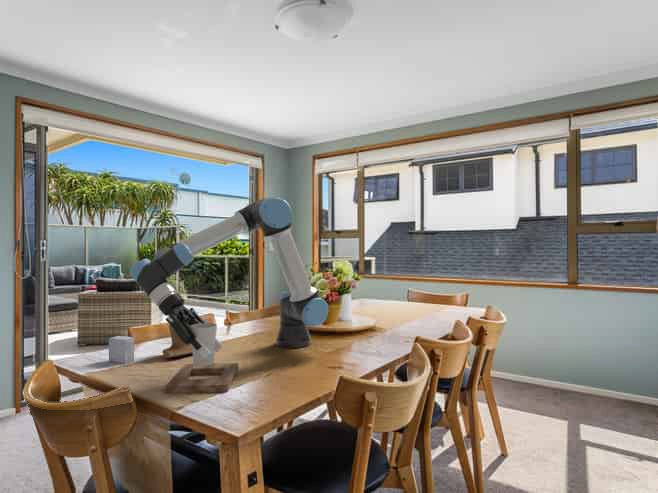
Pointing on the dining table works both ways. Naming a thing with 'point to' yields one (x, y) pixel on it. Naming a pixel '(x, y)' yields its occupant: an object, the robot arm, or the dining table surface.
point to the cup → (204, 342)
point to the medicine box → (121, 349)
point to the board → (203, 385)
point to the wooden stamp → (177, 346)
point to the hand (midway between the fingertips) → (213, 352)
